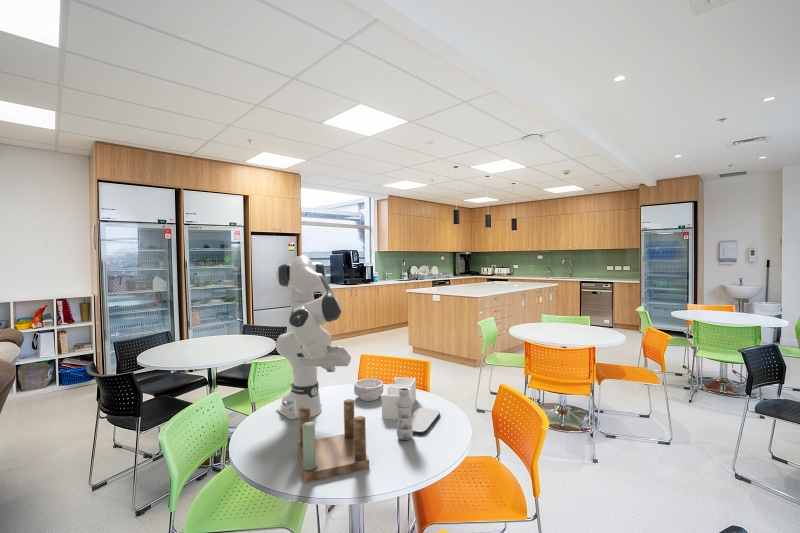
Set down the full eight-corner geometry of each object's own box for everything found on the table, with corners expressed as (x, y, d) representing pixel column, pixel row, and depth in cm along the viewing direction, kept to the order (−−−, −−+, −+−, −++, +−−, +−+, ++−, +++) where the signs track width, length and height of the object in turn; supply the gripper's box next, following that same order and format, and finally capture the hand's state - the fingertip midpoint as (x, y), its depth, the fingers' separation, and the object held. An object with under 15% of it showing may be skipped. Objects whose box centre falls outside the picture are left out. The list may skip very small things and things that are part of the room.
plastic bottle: (414, 442, 149) (413, 392, 148) (397, 442, 148) (396, 392, 148) (412, 434, 155) (411, 386, 155) (396, 435, 155) (395, 387, 154)
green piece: (302, 452, 136) (301, 413, 135) (313, 451, 137) (312, 411, 136) (303, 471, 124) (302, 428, 124) (316, 469, 125) (315, 426, 125)
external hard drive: (424, 437, 153) (424, 432, 153) (398, 432, 158) (398, 428, 158) (441, 414, 175) (441, 410, 175) (418, 411, 179) (418, 406, 179)
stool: (304, 482, 124) (303, 431, 123) (298, 450, 144) (297, 406, 144) (369, 468, 131) (368, 420, 131) (354, 439, 152) (353, 398, 151)
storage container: (405, 420, 169) (405, 396, 168) (382, 418, 171) (381, 394, 171) (415, 399, 193) (415, 378, 193) (395, 398, 196) (394, 377, 195)
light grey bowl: (389, 397, 196) (389, 382, 196) (367, 406, 185) (366, 390, 185) (370, 390, 207) (370, 376, 207) (348, 398, 196) (348, 383, 196)
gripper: (345, 339, 135) (358, 363, 143) (297, 341, 142) (312, 364, 150) (339, 353, 131) (353, 377, 139) (290, 354, 138) (306, 377, 145)
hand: (331, 370), depth 144 cm, fingers closed
